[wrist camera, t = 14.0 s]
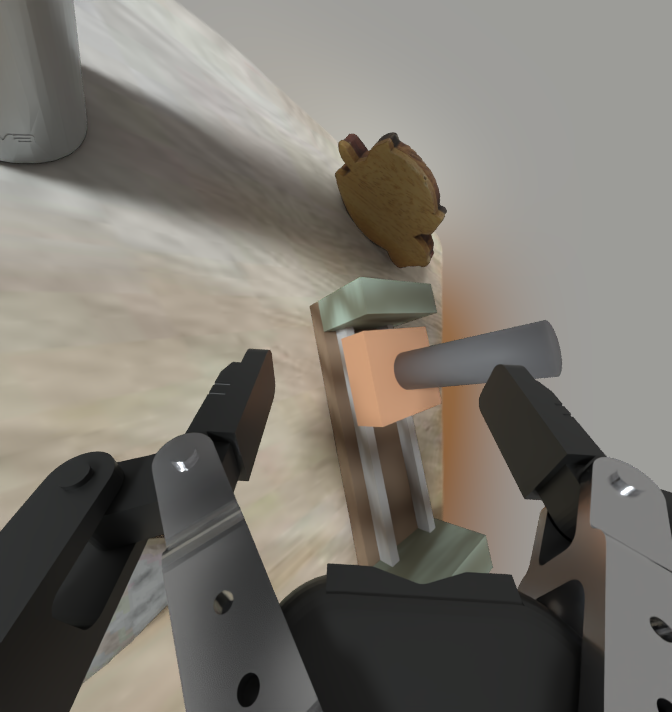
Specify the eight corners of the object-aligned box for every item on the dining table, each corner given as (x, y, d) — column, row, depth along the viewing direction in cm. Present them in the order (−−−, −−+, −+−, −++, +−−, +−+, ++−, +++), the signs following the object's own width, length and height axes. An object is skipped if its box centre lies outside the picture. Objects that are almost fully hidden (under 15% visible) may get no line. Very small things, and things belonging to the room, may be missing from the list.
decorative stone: (210, 582, 19) (224, 609, 16) (-280, 875, 9) (-442, 1061, 7) (195, 492, 19) (207, 504, 17) (-292, 684, 10) (-451, 787, 7)
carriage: (341, 338, 25) (508, 280, 14) (402, 333, 31) (556, 288, 20) (358, 426, 25) (545, 434, 14) (417, 404, 30) (583, 397, 19)
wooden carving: (407, 259, 40) (476, 221, 32) (399, 282, 37) (471, 247, 30) (322, 161, 32) (386, 81, 25) (307, 182, 30) (370, 102, 22)
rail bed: (309, 306, 28) (359, 276, 22) (377, 306, 34) (430, 283, 28) (364, 595, 26) (435, 648, 20) (425, 539, 32) (492, 567, 26)
